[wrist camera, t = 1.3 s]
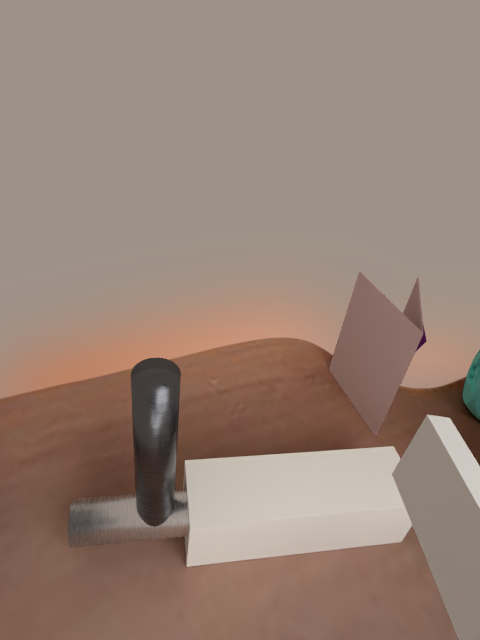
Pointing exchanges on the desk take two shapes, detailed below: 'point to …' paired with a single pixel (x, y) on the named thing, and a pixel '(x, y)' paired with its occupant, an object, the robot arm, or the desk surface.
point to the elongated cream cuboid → (291, 504)
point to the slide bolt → (141, 470)
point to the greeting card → (376, 349)
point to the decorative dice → (473, 387)
